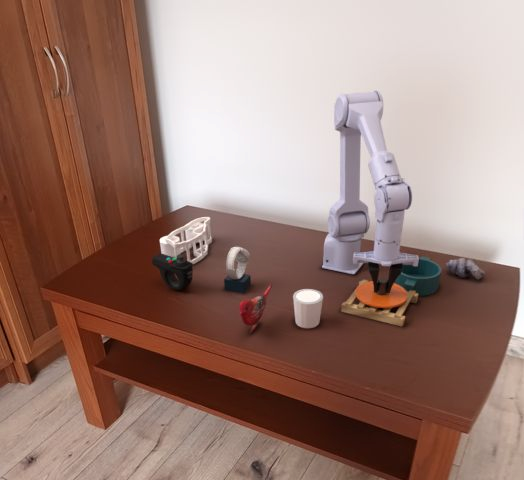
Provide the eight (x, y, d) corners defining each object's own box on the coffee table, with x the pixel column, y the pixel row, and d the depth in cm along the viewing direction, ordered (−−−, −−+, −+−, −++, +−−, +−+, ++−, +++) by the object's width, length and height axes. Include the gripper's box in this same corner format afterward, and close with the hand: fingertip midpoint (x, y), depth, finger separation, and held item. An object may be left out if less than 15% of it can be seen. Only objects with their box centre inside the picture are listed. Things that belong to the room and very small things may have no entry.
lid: (348, 303, 125) (349, 286, 123) (365, 280, 134) (366, 264, 131) (398, 315, 120) (401, 298, 118) (413, 290, 129) (415, 274, 126)
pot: (384, 294, 133) (386, 277, 130) (403, 267, 145) (405, 250, 142) (429, 304, 129) (432, 287, 126) (444, 275, 140) (448, 258, 137)
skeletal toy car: (197, 236, 165) (195, 213, 160) (226, 243, 160) (224, 220, 155) (154, 261, 151) (150, 237, 147) (183, 270, 146) (180, 246, 142)
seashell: (482, 283, 139) (444, 276, 143) (488, 263, 138) (449, 257, 143) (481, 279, 134) (441, 272, 138) (487, 258, 134) (447, 252, 138)
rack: (341, 311, 127) (341, 302, 126) (359, 287, 136) (360, 278, 135) (402, 326, 121) (403, 317, 120) (417, 300, 130) (419, 291, 129)
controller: (187, 297, 135) (182, 261, 129) (153, 284, 141) (147, 249, 135) (198, 290, 137) (194, 255, 132) (164, 277, 143) (159, 243, 138)
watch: (253, 282, 140) (252, 243, 134) (241, 296, 134) (239, 257, 128) (234, 278, 142) (232, 240, 135) (221, 292, 136) (218, 253, 129)
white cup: (313, 332, 120) (314, 306, 116) (287, 324, 123) (287, 298, 119) (327, 318, 125) (328, 292, 121) (301, 311, 128) (301, 285, 124)
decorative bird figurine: (235, 343, 118) (233, 304, 112) (267, 304, 131) (266, 268, 125) (247, 345, 117) (245, 307, 111) (277, 306, 130) (277, 270, 124)
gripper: (355, 244, 116) (350, 297, 124) (423, 246, 114) (414, 300, 122) (355, 231, 122) (351, 283, 130) (420, 233, 120) (411, 285, 128)
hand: (381, 290), depth 126 cm, fingers closed on lid, 2 cm apart
